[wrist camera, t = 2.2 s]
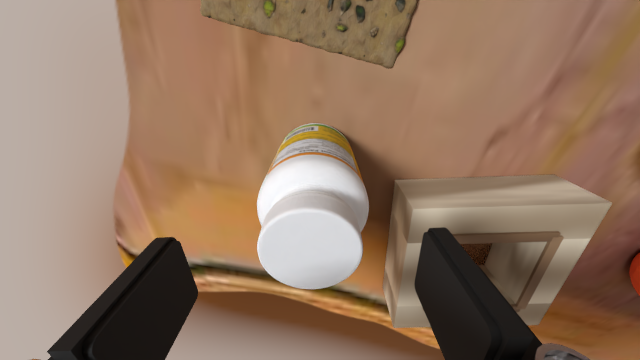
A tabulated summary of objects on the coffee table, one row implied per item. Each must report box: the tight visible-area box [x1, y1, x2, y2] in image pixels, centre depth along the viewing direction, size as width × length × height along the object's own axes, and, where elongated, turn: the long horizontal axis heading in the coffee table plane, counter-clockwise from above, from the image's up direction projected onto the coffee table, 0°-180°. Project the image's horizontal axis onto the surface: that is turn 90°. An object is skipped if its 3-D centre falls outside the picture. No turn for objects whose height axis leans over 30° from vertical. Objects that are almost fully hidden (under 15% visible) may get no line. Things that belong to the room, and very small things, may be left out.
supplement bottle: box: [257, 123, 369, 289], centre depth 13 cm, size 5×5×10 cm
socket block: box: [383, 175, 612, 328], centre depth 19 cm, size 12×12×4 cm
